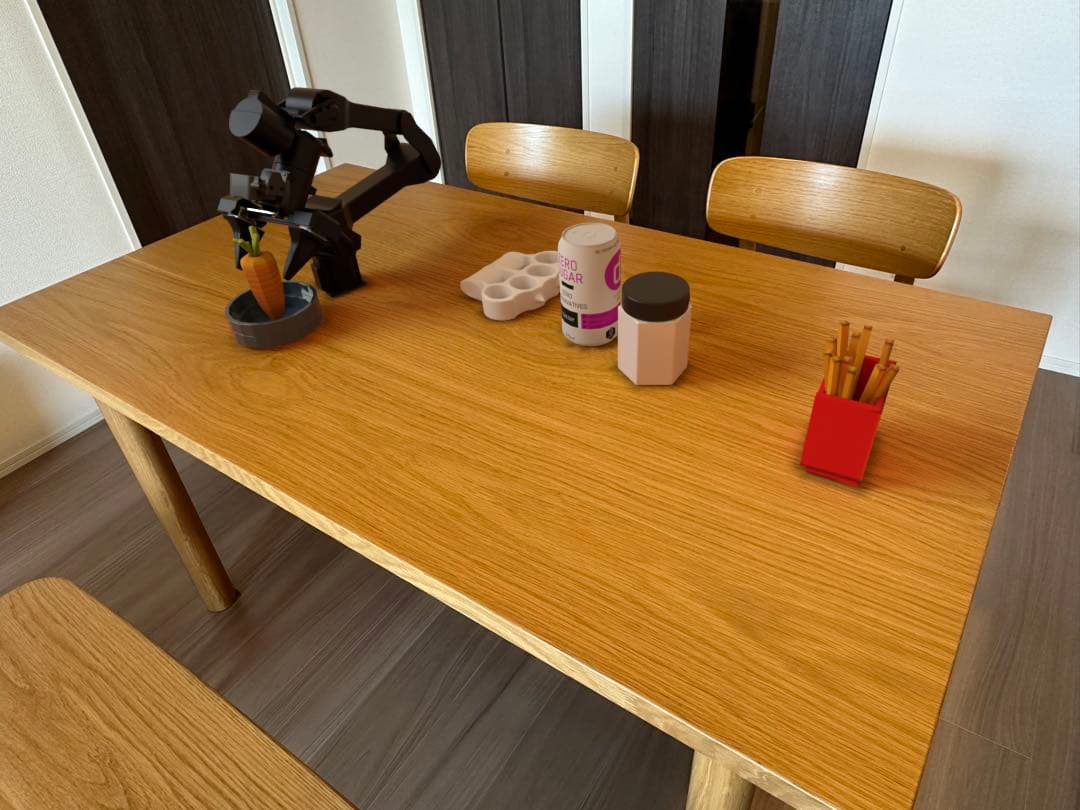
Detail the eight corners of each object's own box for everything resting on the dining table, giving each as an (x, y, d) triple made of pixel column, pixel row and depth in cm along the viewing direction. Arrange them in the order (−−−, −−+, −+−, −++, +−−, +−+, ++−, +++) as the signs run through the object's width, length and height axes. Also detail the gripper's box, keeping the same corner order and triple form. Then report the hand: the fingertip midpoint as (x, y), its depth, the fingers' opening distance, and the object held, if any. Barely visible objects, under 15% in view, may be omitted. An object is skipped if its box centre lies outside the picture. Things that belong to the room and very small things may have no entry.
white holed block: (518, 258, 118) (590, 278, 111) (447, 304, 108) (521, 330, 100) (517, 240, 116) (590, 259, 109) (444, 284, 105) (519, 309, 98)
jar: (698, 375, 89) (706, 292, 81) (644, 395, 86) (647, 311, 79) (659, 343, 95) (663, 263, 88) (608, 360, 93) (607, 280, 85)
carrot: (274, 335, 102) (241, 240, 93) (255, 325, 105) (221, 232, 96) (302, 320, 105) (272, 227, 96) (283, 311, 108) (252, 220, 99)
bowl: (303, 297, 113) (296, 271, 110) (338, 327, 104) (331, 301, 101) (223, 326, 107) (212, 301, 104) (252, 362, 98) (242, 335, 95)
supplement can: (628, 323, 100) (629, 224, 91) (608, 353, 94) (607, 251, 85) (576, 313, 103) (572, 217, 94) (553, 342, 97) (547, 243, 88)
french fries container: (792, 469, 74) (815, 361, 66) (812, 420, 80) (835, 316, 72) (862, 490, 71) (896, 380, 63) (877, 437, 77) (910, 330, 69)
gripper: (203, 139, 97) (170, 245, 96) (304, 151, 90) (269, 266, 89) (262, 175, 107) (232, 271, 106) (356, 188, 100) (325, 291, 99)
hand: (262, 274), depth 100 cm, fingers open, 9 cm apart
